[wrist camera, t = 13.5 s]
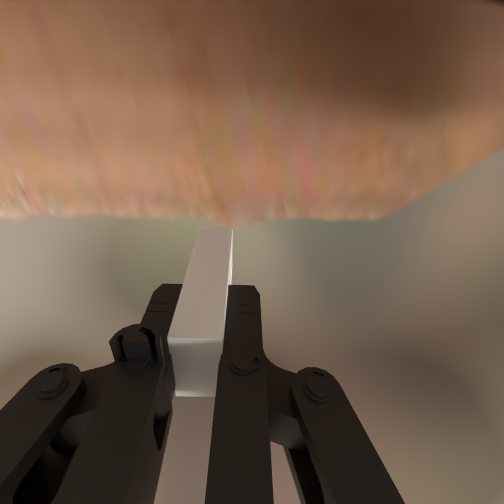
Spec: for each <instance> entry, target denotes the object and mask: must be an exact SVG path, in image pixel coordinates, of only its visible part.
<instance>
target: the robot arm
mask: <svg viewBox="0 0 504 504" xmlns="http://www.w3.org/2000/svg"><path fill="white" fill-rule="evenodd" d="M232 232H233V228H229V227H202V226H201V227H200V228H199V232H198V235H197V239H196V242H195V245H194V249H193V252H192V255H191V259H190V262H189V266H188V269H187V273H186V276H185V280H184V282H183V284H162V285H161V286H159V287H158V288H157V289H156V290H155V291H154V292H153V295H152V297H151V299H150V302H149V305H148V307H147V309H146V313H145V314H144V316H143V318H142V321H141V323H140V324H134V325H130V326H128V327H125V328H123V329H121V330H120V331H118V332H117V333H116V334H114V336H113V337H112V338H111V340H110V341H109V343H110V347H111V350H112V353H113V356H114V360H115V362H113V363H111V364H108V365H106V366H103V367H99V368H95V369H91V370H87V371H83V372H80V370H79V368H78V367H77V366H75V365H73V364H68V363H61V364H57V365H52V366H50V367H48V368H46V369H44V370H42V371H40V372H39V373H38V374H36V375H35V376H34V377H33V378H31V379H30V380H29V381H28V382H27V383H26V385H24V387H22V389H20V390H19V392H18V393H17V394H16V395H15V396H14V397H13V398H12V399H11V400H10V401H9V402H8V403H7V404H6V405H5V406H4V407H3V408H2V409H1V410H0V504H154V499H155V495H156V490H157V485H158V480H159V476H160V471H161V466H162V462H163V457H164V452H165V448H166V443H167V438H168V433H169V429H170V424H171V419H172V412H173V408H172V398H173V394H174V389H175V392H176V396H204V397H205V396H207V397H209V396H210V397H215V406H214V416H213V426H212V436H211V446H210V456H209V466H208V476H207V487H206V496H205V504H274V501H273V485H272V467H271V449H270V441H272V442H274V443H277V444H280V445H282V446H283V447H284V451H285V454H286V457H287V460H288V463H289V467H290V470H291V473H292V476H293V479H294V483H295V485H296V489H297V492H298V495H299V499H300V502H301V504H405V503H404V501H403V499H402V497H401V495H400V494H399V492H398V490H397V488H396V486H395V484H394V483H393V481H392V479H391V477H390V475H389V474H388V472H387V470H386V468H385V466H384V464H383V463H382V461H381V459H380V457H379V455H378V454H377V452H376V450H375V448H374V446H373V444H372V443H371V441H370V439H369V437H368V435H367V433H366V432H365V430H364V428H363V426H362V424H361V422H360V421H359V419H358V417H357V415H356V413H355V411H354V410H353V408H352V406H351V404H350V402H349V401H348V399H347V397H346V395H345V393H344V391H343V389H342V388H341V386H340V384H339V383H338V381H337V380H336V379H335V378H334V376H333V375H331V374H330V373H328V372H327V371H325V370H322V369H319V368H316V367H307V368H304V369H302V370H299V371H298V373H297V374H296V373H293V372H290V371H287V370H284V369H282V368H279V367H277V366H275V365H274V364H273V363H271V362H270V361H269V359H268V358H267V357H266V355H265V353H264V350H263V346H262V345H263V343H262V324H261V307H260V294H259V292H258V291H257V290H256V288H255V286H252V285H251V286H250V285H231V280H232Z"/></svg>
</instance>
